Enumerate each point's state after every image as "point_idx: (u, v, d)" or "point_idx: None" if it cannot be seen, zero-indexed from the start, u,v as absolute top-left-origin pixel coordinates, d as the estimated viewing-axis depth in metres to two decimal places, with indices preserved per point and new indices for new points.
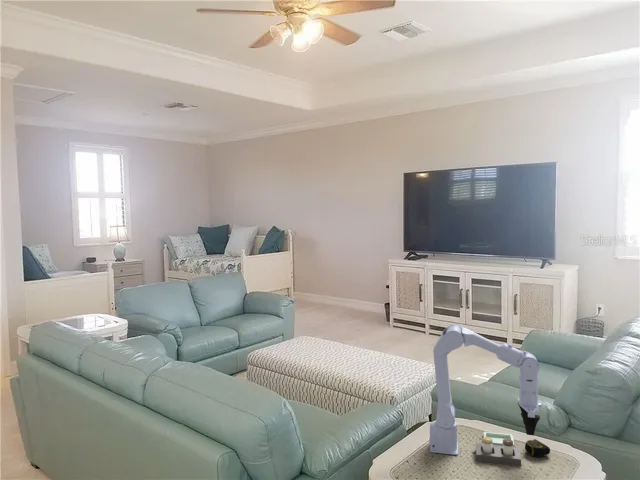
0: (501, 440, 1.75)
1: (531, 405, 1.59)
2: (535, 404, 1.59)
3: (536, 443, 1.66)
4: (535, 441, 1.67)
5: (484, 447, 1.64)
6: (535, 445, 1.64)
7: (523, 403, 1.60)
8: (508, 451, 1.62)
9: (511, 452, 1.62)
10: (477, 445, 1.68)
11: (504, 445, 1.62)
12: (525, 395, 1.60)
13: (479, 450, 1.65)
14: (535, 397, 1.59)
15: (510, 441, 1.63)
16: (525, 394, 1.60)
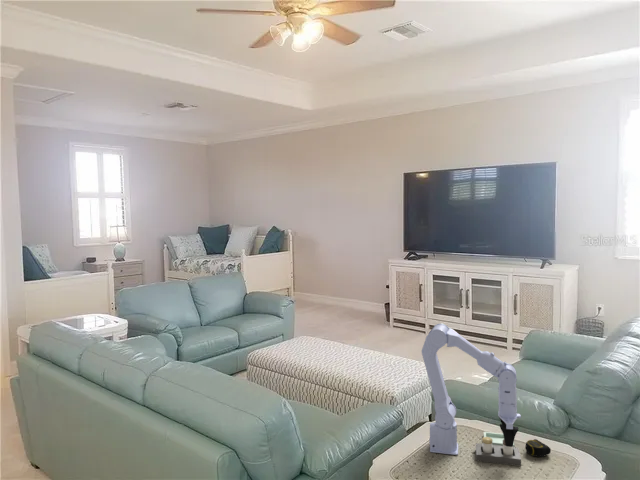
0: (501, 440, 1.75)
1: (510, 416, 1.59)
2: (514, 415, 1.60)
3: (536, 443, 1.66)
4: (535, 441, 1.68)
5: (484, 447, 1.64)
6: (536, 445, 1.65)
7: (502, 414, 1.61)
8: (508, 451, 1.62)
9: (511, 452, 1.62)
10: (477, 445, 1.68)
11: (504, 445, 1.62)
12: (504, 406, 1.60)
13: (479, 450, 1.65)
14: (514, 408, 1.60)
15: None
16: (504, 405, 1.60)
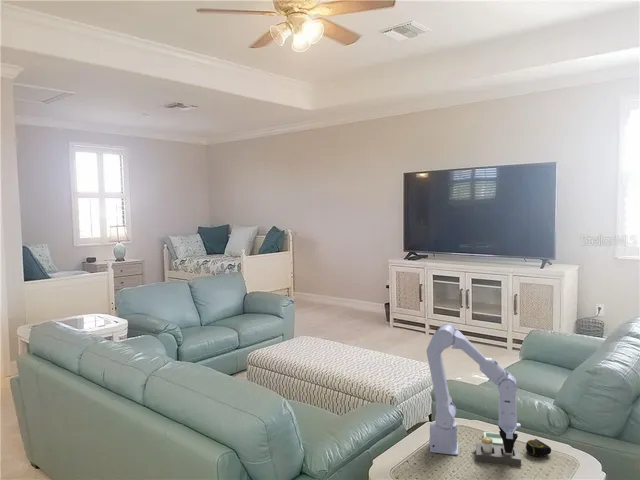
0: (501, 440, 1.75)
1: (510, 426, 1.60)
2: (514, 425, 1.60)
3: (537, 443, 1.66)
4: (536, 441, 1.68)
5: (484, 447, 1.64)
6: (536, 445, 1.65)
7: (502, 424, 1.61)
8: None
9: None
10: (477, 445, 1.68)
11: None
12: (504, 416, 1.60)
13: (479, 450, 1.65)
14: (514, 418, 1.60)
15: None
16: (504, 415, 1.60)
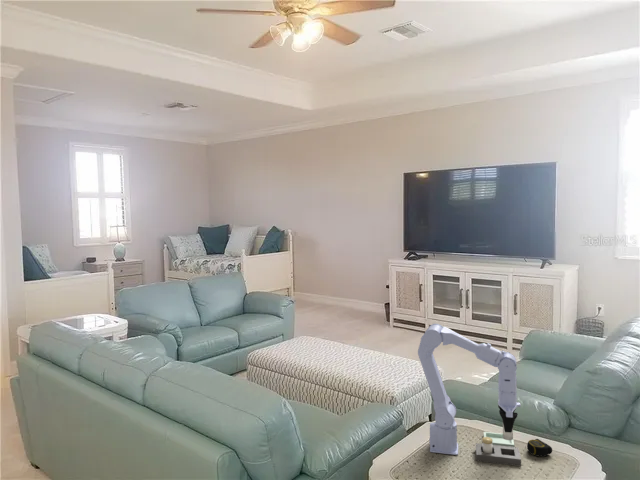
0: (501, 440, 1.75)
1: (510, 405, 1.59)
2: (514, 404, 1.60)
3: (538, 442, 1.66)
4: (537, 440, 1.68)
5: (484, 447, 1.64)
6: (537, 445, 1.65)
7: (502, 403, 1.61)
8: None
9: None
10: (477, 445, 1.68)
11: None
12: (504, 395, 1.60)
13: (479, 450, 1.65)
14: (514, 397, 1.59)
15: None
16: (504, 394, 1.60)
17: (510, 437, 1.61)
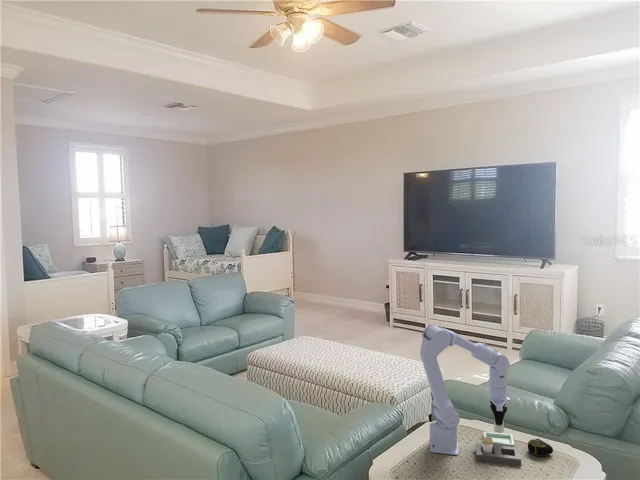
0: (501, 440, 1.75)
1: (500, 400, 1.71)
2: (504, 399, 1.71)
3: (539, 442, 1.67)
4: (538, 440, 1.68)
5: (484, 447, 1.64)
6: (538, 444, 1.65)
7: (493, 398, 1.72)
8: None
9: (502, 424, 1.73)
10: (477, 445, 1.68)
11: None
12: (494, 390, 1.71)
13: (479, 450, 1.65)
14: (504, 392, 1.71)
15: None
16: (494, 389, 1.71)
17: (501, 430, 1.73)
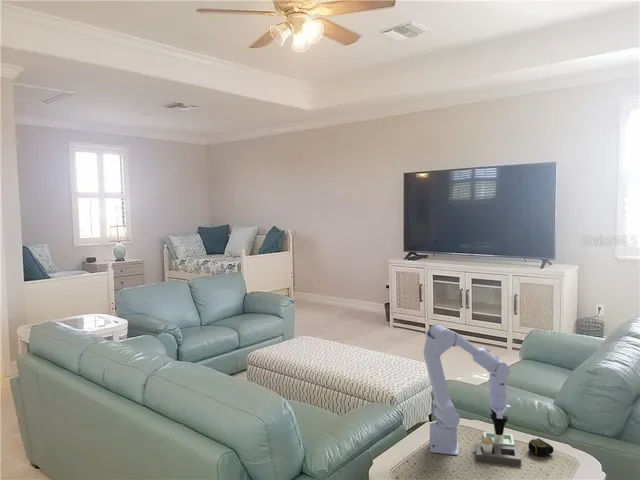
0: None
1: (500, 407, 1.71)
2: (504, 406, 1.71)
3: (539, 442, 1.67)
4: (538, 440, 1.68)
5: (484, 447, 1.64)
6: (539, 444, 1.65)
7: (493, 405, 1.72)
8: None
9: None
10: (477, 445, 1.68)
11: None
12: (494, 398, 1.71)
13: (479, 450, 1.65)
14: (504, 399, 1.71)
15: None
16: (494, 397, 1.71)
17: (501, 440, 1.73)
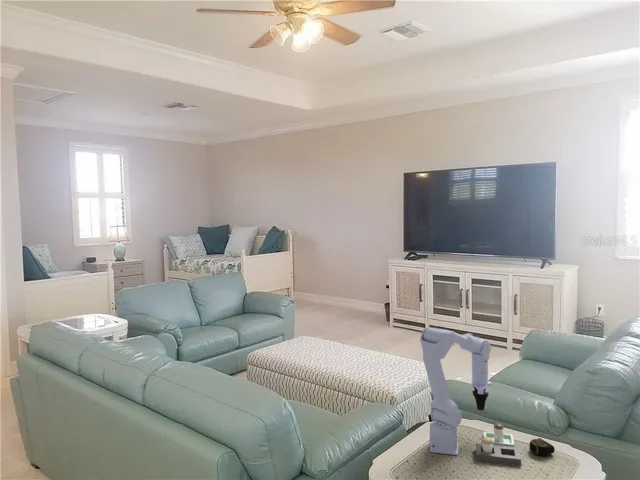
0: None
1: (481, 383, 1.79)
2: (485, 383, 1.79)
3: (540, 442, 1.67)
4: (539, 440, 1.68)
5: (484, 447, 1.64)
6: (540, 444, 1.65)
7: (475, 382, 1.80)
8: (499, 434, 1.73)
9: (502, 434, 1.73)
10: (477, 445, 1.68)
11: (495, 428, 1.73)
12: (476, 375, 1.79)
13: (479, 450, 1.65)
14: (485, 376, 1.79)
15: (501, 425, 1.74)
16: (476, 374, 1.79)
17: (501, 440, 1.73)
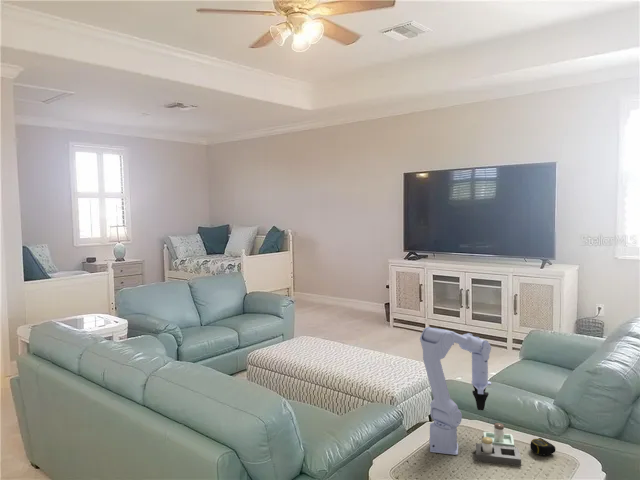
0: None
1: (481, 383, 1.79)
2: (485, 383, 1.79)
3: (541, 442, 1.67)
4: (540, 440, 1.68)
5: (484, 447, 1.64)
6: (541, 444, 1.65)
7: (475, 382, 1.80)
8: (499, 434, 1.73)
9: (502, 434, 1.73)
10: (477, 445, 1.68)
11: (495, 428, 1.73)
12: (476, 375, 1.79)
13: (479, 450, 1.65)
14: (485, 376, 1.79)
15: (501, 425, 1.74)
16: (476, 374, 1.79)
17: (501, 440, 1.73)
